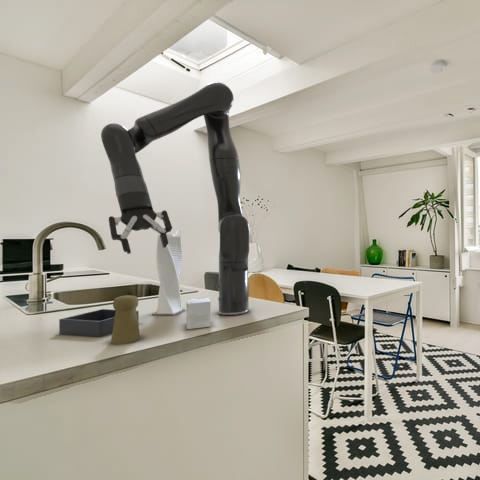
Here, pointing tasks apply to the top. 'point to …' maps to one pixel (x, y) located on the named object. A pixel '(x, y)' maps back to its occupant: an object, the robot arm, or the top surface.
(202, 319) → the product box
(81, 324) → the basket
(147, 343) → the top surface
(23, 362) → the top surface
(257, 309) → the top surface
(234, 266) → the robot arm
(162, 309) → the skyscraper
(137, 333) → the cork
